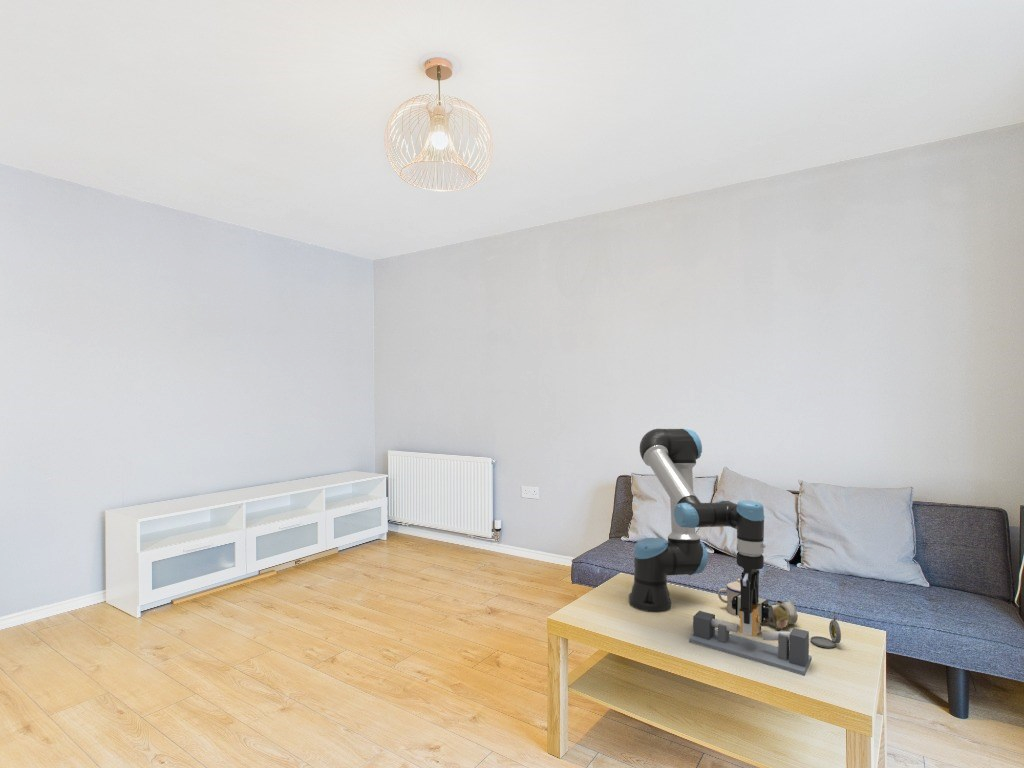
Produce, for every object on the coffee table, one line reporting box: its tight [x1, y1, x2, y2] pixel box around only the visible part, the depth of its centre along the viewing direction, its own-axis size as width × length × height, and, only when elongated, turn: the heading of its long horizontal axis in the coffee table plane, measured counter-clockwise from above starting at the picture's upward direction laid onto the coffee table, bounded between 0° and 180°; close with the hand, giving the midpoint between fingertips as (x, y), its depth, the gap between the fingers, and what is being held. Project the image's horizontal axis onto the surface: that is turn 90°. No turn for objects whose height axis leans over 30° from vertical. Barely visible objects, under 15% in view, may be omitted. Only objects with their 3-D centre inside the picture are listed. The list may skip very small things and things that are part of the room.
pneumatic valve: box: [732, 593, 773, 633], centre depth 177 cm, size 6×12×12 cm, turn 45°
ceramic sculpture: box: [760, 600, 799, 631], centre depth 181 cm, size 11×9×15 cm
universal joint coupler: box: [738, 604, 761, 637], centre depth 163 cm, size 6×4×8 cm
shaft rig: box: [688, 610, 812, 676], centre depth 163 cm, size 32×12×9 cm, turn 53°
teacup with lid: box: [717, 578, 741, 617], centre depth 193 cm, size 12×9×12 cm
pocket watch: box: [809, 612, 842, 649], centre depth 168 cm, size 8×8×10 cm
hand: (749, 630), depth 162 cm, fingers closed on universal joint coupler, 4 cm apart
